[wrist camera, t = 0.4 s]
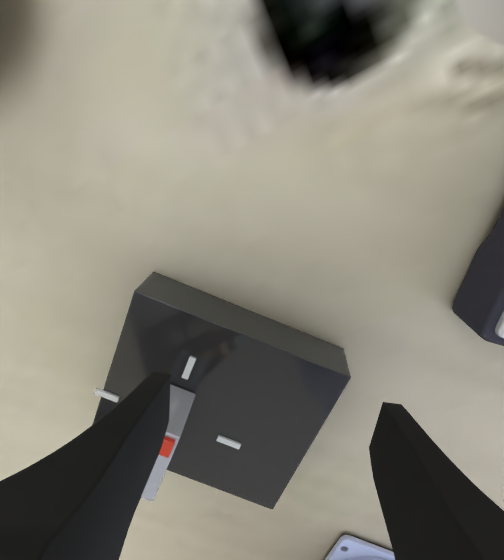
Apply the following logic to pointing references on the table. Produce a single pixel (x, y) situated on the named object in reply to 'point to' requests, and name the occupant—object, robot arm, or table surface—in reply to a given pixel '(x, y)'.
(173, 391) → the knob
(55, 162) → the table surface
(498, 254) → the red and grey box
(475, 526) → the robot arm
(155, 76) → the table surface
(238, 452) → the panel
